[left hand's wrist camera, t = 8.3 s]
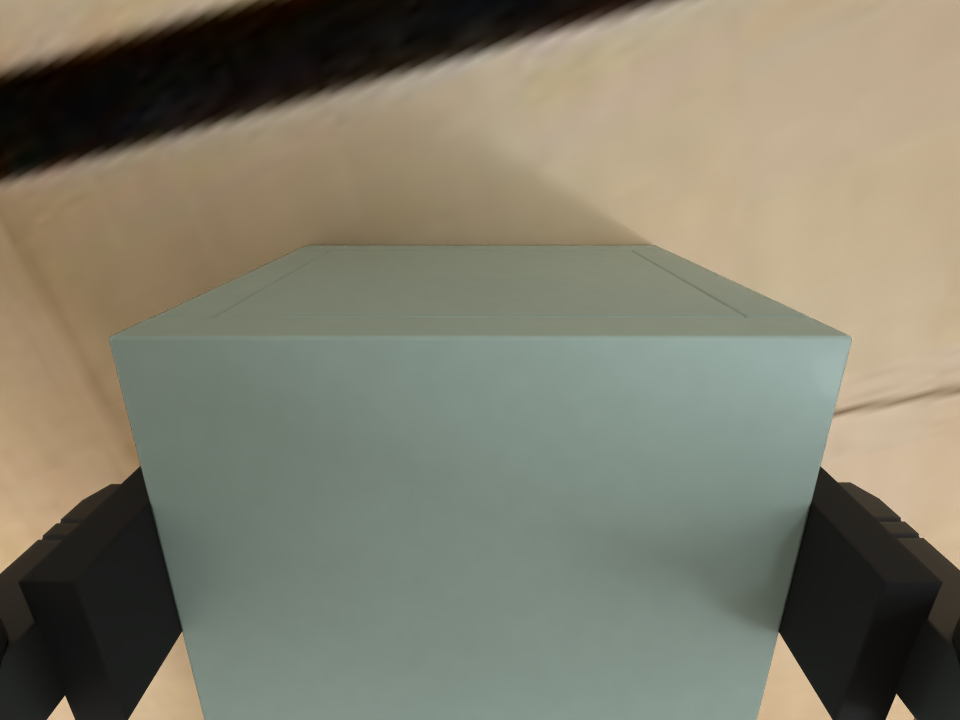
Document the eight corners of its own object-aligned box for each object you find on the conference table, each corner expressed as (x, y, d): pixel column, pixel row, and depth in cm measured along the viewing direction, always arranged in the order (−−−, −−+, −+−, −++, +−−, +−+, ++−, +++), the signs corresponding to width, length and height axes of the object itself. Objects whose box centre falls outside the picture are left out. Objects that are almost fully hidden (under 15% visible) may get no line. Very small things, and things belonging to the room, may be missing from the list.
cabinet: (600, 745, 24) (668, 1075, 15) (360, 745, 24) (292, 1075, 15) (656, 244, 16) (855, 336, 8) (304, 244, 16) (106, 335, 8)
